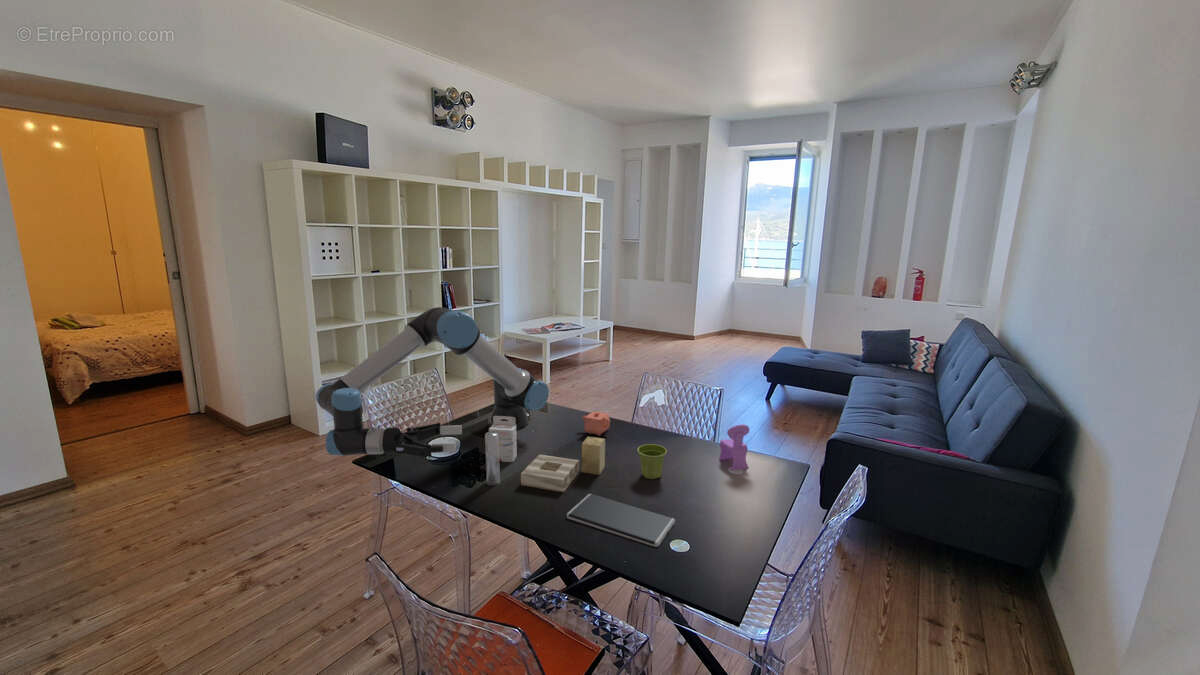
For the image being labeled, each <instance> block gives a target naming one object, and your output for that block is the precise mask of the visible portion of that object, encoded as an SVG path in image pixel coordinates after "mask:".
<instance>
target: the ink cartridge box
mask: <svg viewBox="0 0 1200 675" xmlns="http://www.w3.org/2000/svg"><path fill="white" fill-rule="evenodd" d="M501 419H505V420H508V421H500V420H501ZM492 431H494V432H498V436H499V462H504V463H514V461H515V460H516V458H517V457H518V455H517V454H518V453H517V452H518V450H517V445H518V444H517V430H516V418H515V417H505V416H493V425H492V426H491V425H490V427H489V428H488V432H492Z"/></svg>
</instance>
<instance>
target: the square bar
mask: <svg viewBox="0 0 1200 675" xmlns="http://www.w3.org/2000/svg"><path fill="white" fill-rule="evenodd" d="M605 464H606V439H605V438H601V437H596V436H595V437H594V436H587V437H586V438H585V439H584V441H583V442H582V443H581V473H583V474H584V473H585V474H590V475H591V474H592V475H597V476H600V475H601V473H602V472H603V470H604V469H605Z"/></svg>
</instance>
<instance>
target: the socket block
mask: <svg viewBox="0 0 1200 675" xmlns="http://www.w3.org/2000/svg"><path fill="white" fill-rule="evenodd" d="M579 472H580V460H579V459H572V458H567V457H566V458H565V457H558V456H552V455H545V454H538V455H537V456H536V457H535V459H534V460H532V461H531V462H530V464H528V466H526V468H524V470H523V471H522V472H520V486H525V487H530V488H537V489H543V490H548V491H555V492H558V493H559V492H561V493H565V491H566V489H567V488H569V485H570V484H571V483H572V482H573V480H574V479H575V478H576V476H578V474H579Z"/></svg>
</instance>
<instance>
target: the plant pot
mask: <svg viewBox="0 0 1200 675" xmlns="http://www.w3.org/2000/svg"><path fill="white" fill-rule="evenodd" d="M667 452H668V450H667V448H665V447H664V446H662V445H661V444H659V445H658V444H651V443H648V444H647V443H646V444H643V445H640V446H638V448H637V453H638V455H639V459H640V467H641V468H640V469H641V475H642V476H643V477H644V478H645V479H649V480H654V479H659V478H661V476H662V471H663V466H664V460H665V457H666V455H667Z"/></svg>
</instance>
